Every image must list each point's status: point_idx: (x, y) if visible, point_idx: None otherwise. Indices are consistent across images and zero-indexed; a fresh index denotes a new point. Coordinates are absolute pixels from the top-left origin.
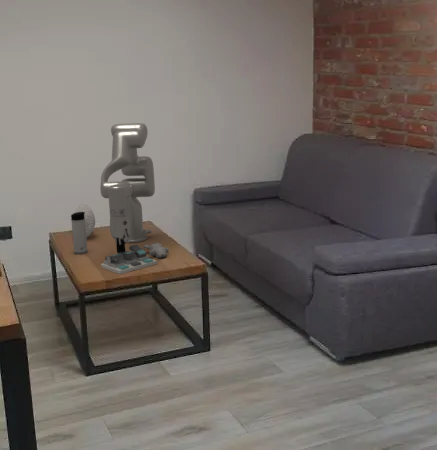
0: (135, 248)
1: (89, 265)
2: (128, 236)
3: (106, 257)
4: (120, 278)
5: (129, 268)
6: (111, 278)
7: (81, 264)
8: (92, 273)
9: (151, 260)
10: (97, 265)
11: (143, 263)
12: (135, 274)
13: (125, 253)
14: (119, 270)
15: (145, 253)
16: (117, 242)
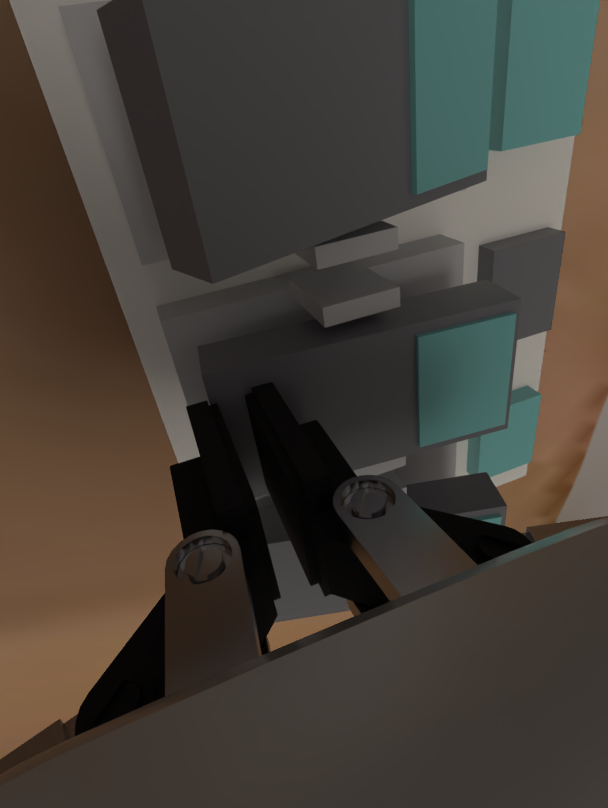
0: (327, 166)
1: (89, 648)
2: (605, 535)
3: (305, 608)
4: (574, 468)
5: (538, 384)
6: (525, 519)
7: (9, 707)
8: (336, 620)
9: (590, 22)
10: (134, 590)
11: (538, 179)
12: (603, 348)
13: (457, 435)
14: (515, 473)
15: (491, 13)
16: (264, 630)
